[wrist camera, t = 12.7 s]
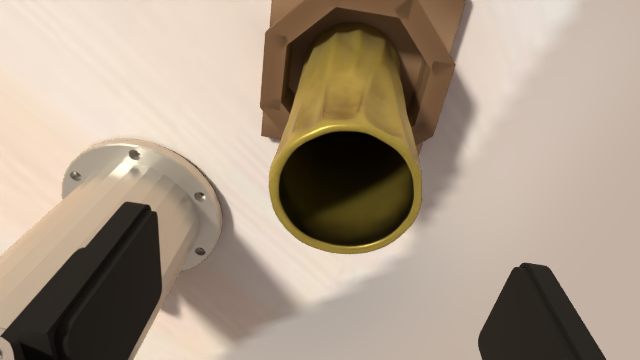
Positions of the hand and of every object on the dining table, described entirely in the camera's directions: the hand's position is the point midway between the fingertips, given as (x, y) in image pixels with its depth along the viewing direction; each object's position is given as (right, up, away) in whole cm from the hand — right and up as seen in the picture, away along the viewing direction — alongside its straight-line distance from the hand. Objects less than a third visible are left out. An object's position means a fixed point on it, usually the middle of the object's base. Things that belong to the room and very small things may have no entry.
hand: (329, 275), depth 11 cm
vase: (+2, +9, +15) cm, 18 cm away
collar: (+2, +10, +16) cm, 19 cm away
